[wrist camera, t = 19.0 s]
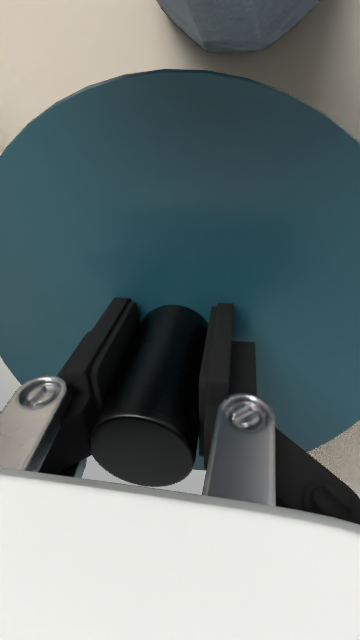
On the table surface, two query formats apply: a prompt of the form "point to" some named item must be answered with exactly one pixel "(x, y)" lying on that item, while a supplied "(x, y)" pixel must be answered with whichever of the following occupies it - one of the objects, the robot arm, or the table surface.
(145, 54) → the table surface
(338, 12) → the table surface
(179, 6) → the moka pot
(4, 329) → the lid
